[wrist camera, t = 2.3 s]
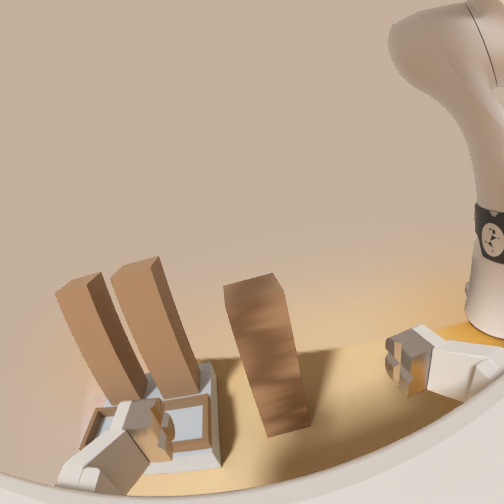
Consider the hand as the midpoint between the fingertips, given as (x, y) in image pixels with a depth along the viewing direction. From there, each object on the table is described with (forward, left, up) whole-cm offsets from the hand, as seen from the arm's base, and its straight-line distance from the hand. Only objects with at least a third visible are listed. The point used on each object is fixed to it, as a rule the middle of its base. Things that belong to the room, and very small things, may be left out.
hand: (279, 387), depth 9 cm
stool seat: (+13, -15, -15) cm, 25 cm away
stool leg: (0, -12, -15) cm, 19 cm away
